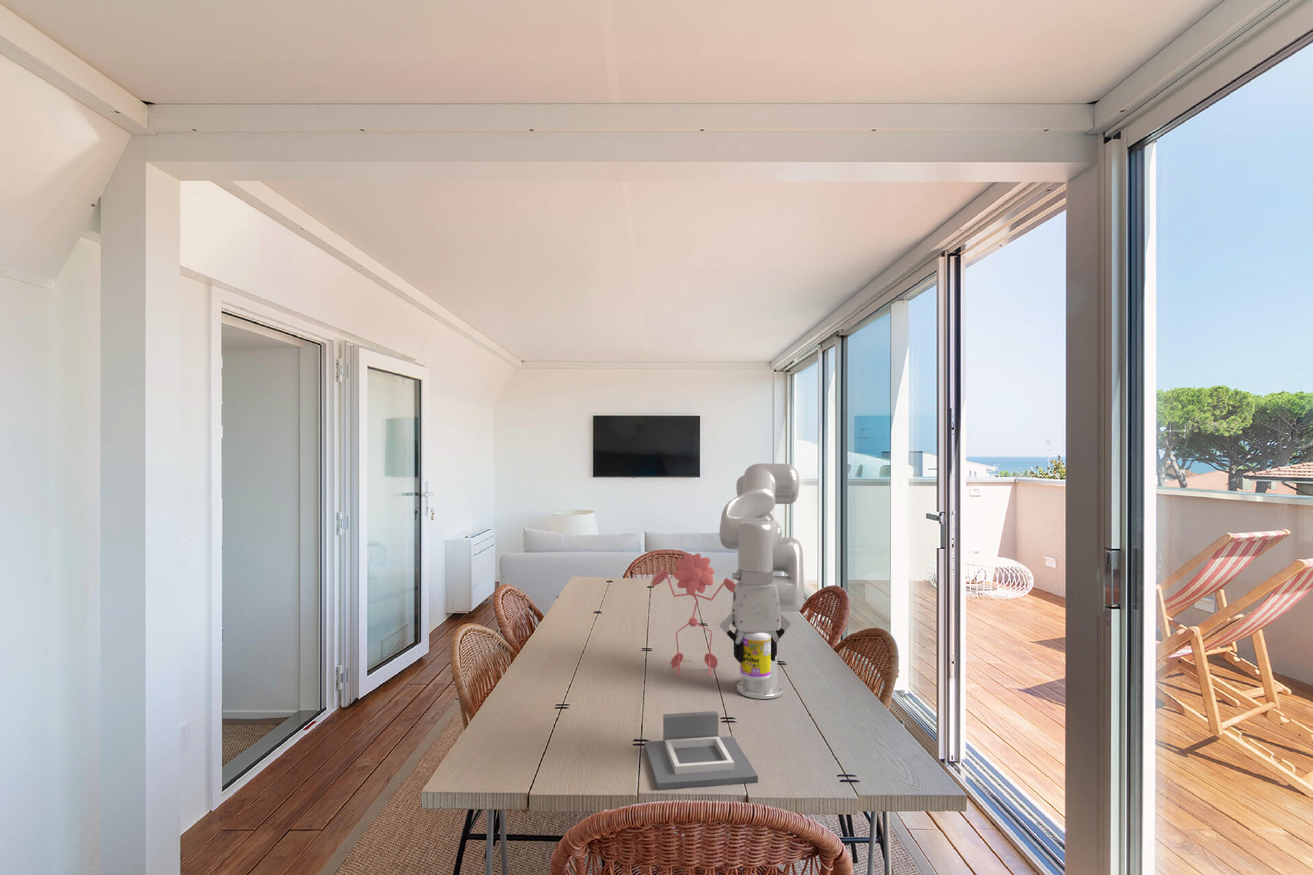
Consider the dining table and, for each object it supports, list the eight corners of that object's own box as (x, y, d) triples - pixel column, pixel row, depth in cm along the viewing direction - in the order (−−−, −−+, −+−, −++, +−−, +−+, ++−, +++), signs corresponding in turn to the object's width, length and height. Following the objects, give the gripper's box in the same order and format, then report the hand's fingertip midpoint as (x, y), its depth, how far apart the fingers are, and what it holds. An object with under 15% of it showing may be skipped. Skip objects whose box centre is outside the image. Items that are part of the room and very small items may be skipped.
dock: (644, 747, 138) (645, 714, 138) (732, 741, 141) (732, 709, 141) (657, 789, 120) (657, 751, 120) (757, 782, 123) (757, 744, 123)
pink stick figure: (739, 677, 183) (738, 556, 185) (650, 676, 183) (651, 556, 185) (734, 661, 198) (733, 550, 200) (652, 661, 198) (652, 549, 201)
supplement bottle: (733, 676, 137) (734, 617, 137) (751, 669, 141) (751, 612, 142) (759, 684, 132) (759, 622, 133) (776, 676, 137) (776, 617, 137)
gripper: (722, 582, 132) (721, 667, 132) (799, 579, 136) (799, 663, 135) (712, 575, 140) (712, 656, 139) (786, 573, 143) (786, 653, 142)
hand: (755, 659), depth 137 cm, fingers closed on supplement bottle, 6 cm apart
